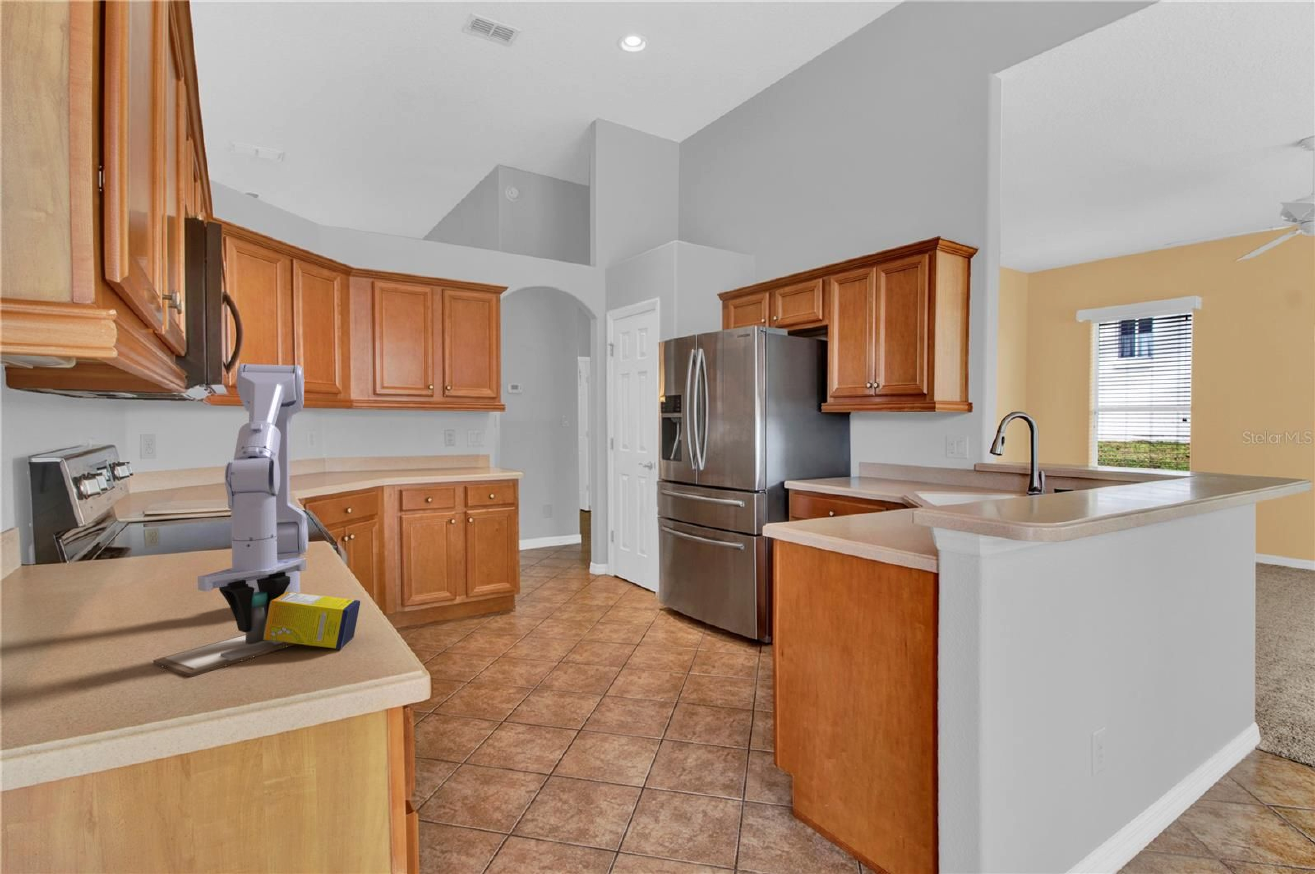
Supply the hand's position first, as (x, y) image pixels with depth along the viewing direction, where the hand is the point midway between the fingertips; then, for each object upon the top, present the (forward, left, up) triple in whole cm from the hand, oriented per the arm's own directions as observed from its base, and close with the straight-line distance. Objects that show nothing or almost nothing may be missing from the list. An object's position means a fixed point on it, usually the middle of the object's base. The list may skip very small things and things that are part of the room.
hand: (256, 627), depth 95 cm
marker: (0, 0, -2) cm, 2 cm away
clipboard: (0, -3, -3) cm, 4 cm away
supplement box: (+12, +8, 0) cm, 14 cm away
